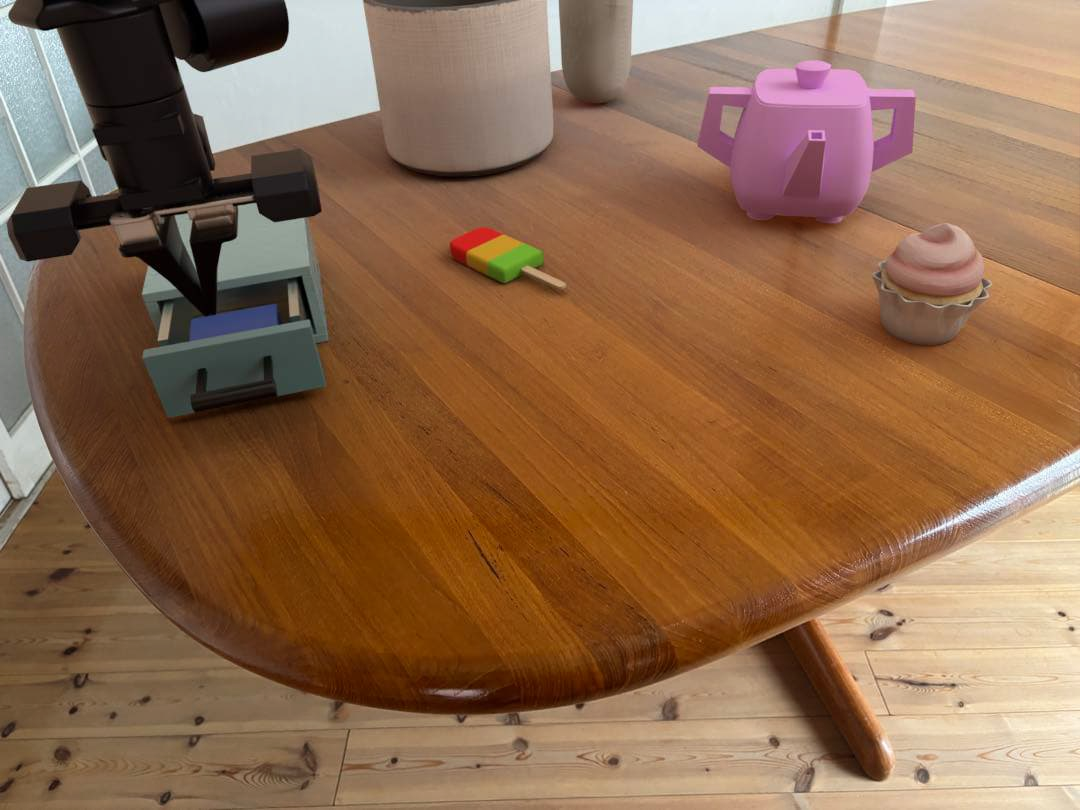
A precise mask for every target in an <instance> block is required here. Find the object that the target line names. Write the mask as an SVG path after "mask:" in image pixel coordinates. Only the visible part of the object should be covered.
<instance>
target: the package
mask: <svg viewBox="0 0 1080 810" xmlns="http://www.w3.org/2000/svg"><path fill="white" fill-rule="evenodd" d="M281 324H282V321H281V318H280V314H279V311H278V308H277V304H271V305H265V306H260V307H255V308H249V309H244V310H238V311H233V312H228V313H222V314H217V315H213V316H207V317H201V318H195V319H191V328H190V338H189V341H194V340H200V339H205V338H211V337H216V336H222V335H227V334H233V333H238V332H243V331H249V330H254V329H260V328H265V327H271V326H276V325H281Z"/></svg>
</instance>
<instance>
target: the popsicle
mask: <svg viewBox="0 0 1080 810" xmlns="http://www.w3.org/2000/svg"><path fill="white" fill-rule="evenodd" d="M449 251H450V256H451V257H452V259H453V260H455V261H457V262H459V263H461V264H463V265H465V266H467V267H468V268H470V269H473V270H475V271H477V272H479V273H481V274H483V275H485V276H487V277H489V278H490V279H493V280H495V281H497V282H499V283H501V284H507V283H510V282H511V281H513V280H515V279H517V278H520V277H521V276H523V275H527V276H530V277H532V278H535V279H536V280H539V281H540V282H542V283H545V284H547V285H549V286H551V287H553V288H555V289H557V290H563V289H565V288H567V283H566V282H565V281H562V280H560V279H558V278H555V277H553V276H551V275H549V274H547V273H545V272H542V271H540V270H538V269H537V268H539V267H541V266H542V265H544V261H545V259H544V258H545V257H544V252H543V251H542V250H541V249H538V248H536V247H534V246H532V245H529V244H526V243H524V242H522V241H519V240H517V239H516V238H513V237H510V236H508V235H506V234H504V233H501V232H499V231H497V230H495V229H492V228H490V227H485V226H484V227H483V226H482V227H478V228H475V229H472V230H470V231H468V232H466V233H464V234H461V235H459V236H458V237H455V238H454V239H452V240H451V241H450V243H449Z"/></svg>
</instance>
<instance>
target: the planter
mask: <svg viewBox="0 0 1080 810" xmlns="http://www.w3.org/2000/svg"><path fill="white" fill-rule="evenodd" d="M362 4H363V5H362V6H363V11H364V18H365V22H366V29H367V35H368V41H369V46H370V53H371V59H372V66H373V72H374V79H375V85H376V92H377V100H378V107H379V112H380V119H381V125H382V130H383V138H384V143H385V147H386V149H387V153H388V155H389V156H390V158H391V159H393V160H394V161H396V162H397V163H398V164H400V165H401V166H403V167H405V168H407V169H409V170H411V171H414V172H417V173H421V174H425V175H429V176H435V177H436V176H437V177H447V178H464V177H466V178H467V177H478V176H485V175H490V174H497V173H502V172H506V171H509V170H511V169H515V168H518V167H521V166H523V165H525V164H527V163H529V162H531V161H532V160H534V159H535V158H537V157H539V156H540V155H541V154H542V153H543V152H544V151H546V150H547V148H548V147H550V145H551V143H552V142H553V139H554V124H555V123H554V108H553V107H554V105H553V90H552V89H553V87H552V72H551V71H552V70H551V54H550V38H549V37H550V36H549V19H548V17H549V16H548V0H362Z"/></svg>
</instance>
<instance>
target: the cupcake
mask: <svg viewBox="0 0 1080 810" xmlns="http://www.w3.org/2000/svg"><path fill="white" fill-rule="evenodd" d="M877 266H878V270H876V271H874V272H872V274H871V277H872V279H873V282H874V285H875V287H876V289H877V293H878V299H879V312H880V323H881V324H882V328H883V329H884V330H885V331H886V332H888V334H890V336H892V337H894V338H896V339H899V340H901V341H904V342H907V343H909V344H914V345H922V346H936V345H943V344H947V343H949V342H951V341H952V340H953V339H955V338H956V337H957V336H958V334H959V333H960V331H961V330H962V329H963V327H964V325H965V323H966V322H967V321H968V319H969V318H970V316H971V315H972V313H973V312H975V310H976V309H978V308H979V307H980V306H981V305H982V304H983V303H984V302H985V301H986V300H988V299H989V298H990V293H989V292H988V290H989V289H990V287H992V285H993V282H992V281H991V280H990V279H988V278H985V277H984V275H985V263H984V259H983V256H982V254H981V253H980V251H979V250H978V249H977V248H976V247H975V243H974V242H973V239H972V238H971V237H970V236H969V235H968V233H967V232H966V231H964V229H962V228H960V227H959V226H957V225H954V224H951V223H949V222H943V223H939V224H934V225H932V226H930V227H928V228H927V229H925V230H924V231H923V232H913V233H909V234H907V235H905V236H904V237H903V238H902V239H901V240H900V241H899V242H898V243H897V245H896V247H895V249H894V251H893V252H891V254H889V256H888V257H887V258H886V260H882V261H880V262H878V264H877Z"/></svg>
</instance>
